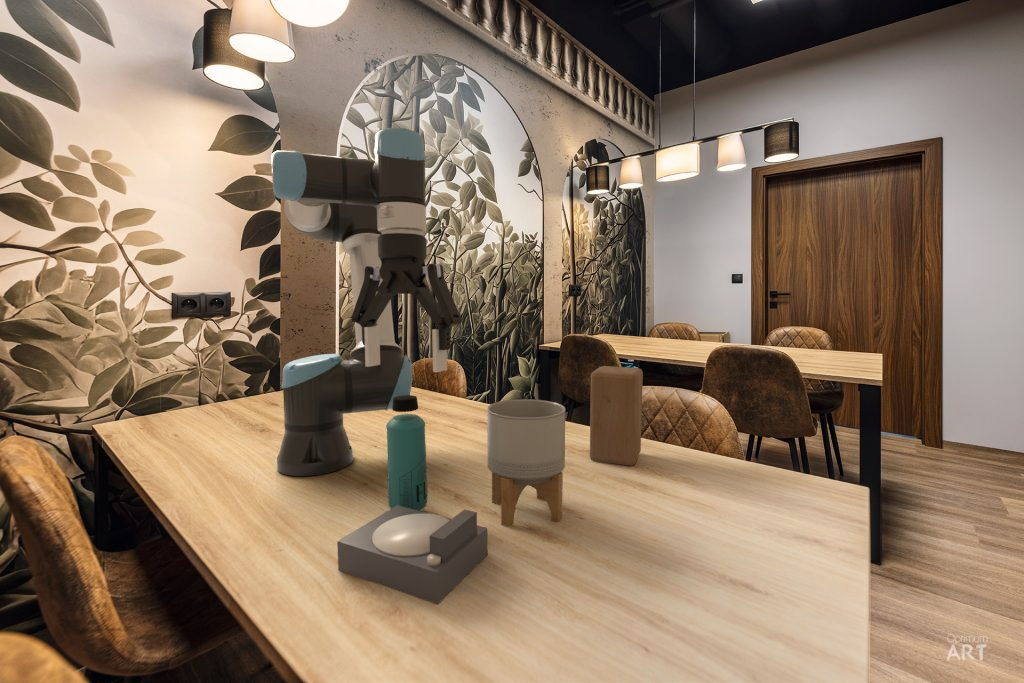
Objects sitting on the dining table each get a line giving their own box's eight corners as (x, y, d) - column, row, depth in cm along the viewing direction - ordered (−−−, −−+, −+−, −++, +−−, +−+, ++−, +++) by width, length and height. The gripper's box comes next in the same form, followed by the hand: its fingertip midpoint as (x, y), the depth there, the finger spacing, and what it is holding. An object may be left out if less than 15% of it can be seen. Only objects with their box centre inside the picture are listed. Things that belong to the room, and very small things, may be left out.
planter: (541, 537, 72) (542, 422, 70) (472, 516, 78) (471, 410, 77) (576, 505, 83) (578, 404, 81) (513, 489, 89) (513, 396, 88)
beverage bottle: (419, 525, 75) (416, 401, 73) (380, 521, 77) (377, 399, 75) (434, 507, 82) (432, 393, 80) (398, 503, 83) (395, 391, 81)
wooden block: (588, 461, 104) (590, 371, 102) (598, 448, 113) (599, 365, 111) (635, 467, 100) (637, 374, 98) (641, 453, 110) (643, 367, 108)
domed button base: (338, 569, 63) (336, 519, 62) (397, 529, 74) (396, 486, 73) (437, 604, 56) (436, 548, 55) (487, 554, 67) (487, 507, 66)
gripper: (325, 236, 77) (330, 366, 79) (455, 225, 66) (457, 377, 68) (359, 241, 83) (363, 360, 85) (482, 232, 72) (483, 370, 74)
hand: (405, 368), depth 77 cm, fingers open, 13 cm apart
